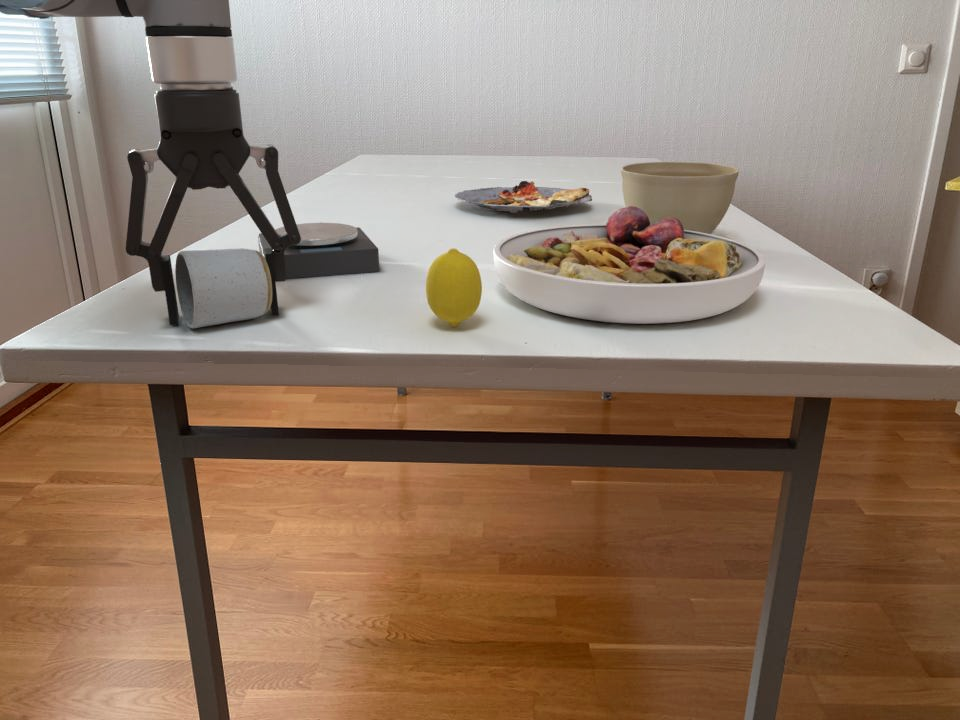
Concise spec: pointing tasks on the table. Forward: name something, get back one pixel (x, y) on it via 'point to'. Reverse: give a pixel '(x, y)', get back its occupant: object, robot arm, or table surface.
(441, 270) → the lemon
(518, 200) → the food plate
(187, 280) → the ceramic mug
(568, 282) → the bowl
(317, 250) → the scale
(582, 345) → the table surface
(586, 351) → the table surface
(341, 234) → the scale pan
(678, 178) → the planter bowl
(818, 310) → the table surface
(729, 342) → the table surface
